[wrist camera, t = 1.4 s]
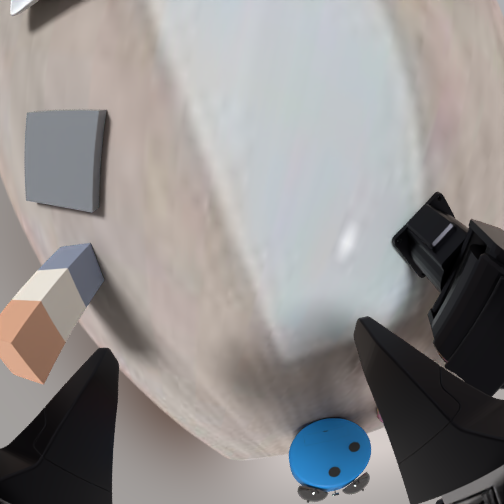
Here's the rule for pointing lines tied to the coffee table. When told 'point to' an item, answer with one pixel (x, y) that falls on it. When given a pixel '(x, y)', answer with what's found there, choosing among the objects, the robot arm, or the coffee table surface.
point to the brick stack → (48, 311)
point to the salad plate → (20, 6)
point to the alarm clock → (329, 458)
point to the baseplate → (64, 157)
